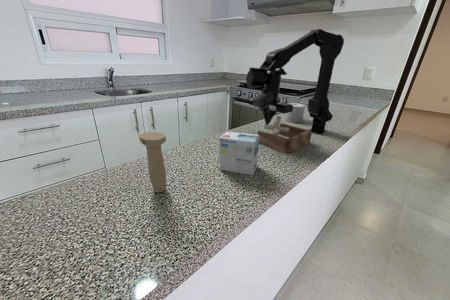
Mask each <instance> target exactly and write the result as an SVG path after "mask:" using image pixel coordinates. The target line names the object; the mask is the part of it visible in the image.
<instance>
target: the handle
mask: <svg viewBox="0 0 450 300" xmlns="http://www.w3.org/2000/svg"><path fill="white" fill-rule="evenodd" d="M138 137H139V141H140V144H142V145H143V146H146V147H145V148H146V155H147V165H148V166H147V167H148V174H149V179H150V180H149V181H150V184H151V186H152V189H153V192H154V193H155V192H157V193H159V192H162V191H163V192H164V190H165V191H166V189H167V186H166V184H167V174H166V166H165V161H164V157H163V151H162V145H163V144H165V142H167V139H166V138H167V137H166V135H165V134H164V133H162V132H157V131H148V132H147V131H146V132H142V133H141V134H138ZM163 192H162V193H163Z"/></svg>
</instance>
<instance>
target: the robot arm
mask: <svg viewBox="0 0 450 300" xmlns="http://www.w3.org/2000/svg"><path fill="white" fill-rule="evenodd" d="M344 43H345V38H344V37H343V35H341V34H335V33H332V32H328V31H326V30H324V29H322V28H317V29H312V30H310V31H309V32H308V33H306V34H305V35H303V36H300V38H298V39H297V40H295V41H293V42H292V43H290V44H288V45H286V46H284V47H282V48H277V49H275V50H271V51H269V52H268V53H267V54H266V56H265V59H264V61H263V62H262V63H261V65H260V66H259V67H251V66H250V67H249V70H248V71H247V74H246V77H245V83H246V86H247V87H248V88H249V87H250V88H253V87H254V88H256V87H257V88H258V87H259V88H260V87H262V88H261V89H262V90H261V93H260V94H257V95H256V96H253V97H252V96H251V97H249V99H248V105H251V106H253V107H255V108H258V109H259V110H260V111H261V112H262V115H263V118H264V124H267V125H270V123H271V121H272V120H273V118H274V117H275V116H276V114H277V113H281V114H285V113H289V112H293V105H292V104H288V102H287V103H286V102H282V103H280V100H279V93H281V92H282V89H280V87H281V80H282V76H287V74H288V73H287V72H286V71H285V69H284V68H283V67H285V66H286V65H287V64H288V63H289V62H290V60H291V59H292V58H294V56H296V55H297V54H299V53H301V52H302V51H304V50H306V49H308V48H309V47H311V46H312V45H314V46H316V47H319V51H318V52H319V55H320V56H319V57H320V58H321V61H320V67H319V72H318V76H317V77H318V78H317V82H316V88H315V92H314V95H313V97H312V98H308V101H307V102H308V105H306V108H307V112H308V113H309V117H310V118H312V123H311V128H310V129H308V130H311V131H312V133H315V134H318V135H323V134H325V133H327V132H328V130H327V129H326V125H327V122H330V121H332V119H333V117H334V116H333V114H332V113H331V111H330V110H329V109H330V102H329V97H328V94H329V88H330V85H331V84H330V83H331V80H332V75H333V70H334V66H335V61H336V59H337V58H338V57H339V55H340V54H341V52H342V50H343V47H344ZM263 87H264V88H263Z"/></svg>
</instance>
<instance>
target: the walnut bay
mask: <svg viewBox="0 0 450 300" xmlns="http://www.w3.org/2000/svg"><path fill="white" fill-rule="evenodd" d="M279 127H286V128H289V132H282V131H279V135H280V136H279V135H278V136H277V135H274V134H273V133H270V132H267V131H264V130H261V129H259V130H257V133H256V135H259V144H260V145H263V146H265V147H268V148H271V149H274V150H277V151H278V152H282V153H285V154H289V153H291V152H293V151H295V150H297V149H300V148H301V147H303V146H305V145H308V144H310V143H311V138H312V133H313V132H312V131H311V130H309V129H307V128H303V127H299V126H295V125H290V124H287V123H282V122H280V124H279ZM282 136H283V137H282ZM286 137H287V138H286Z"/></svg>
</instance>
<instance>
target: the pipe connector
mask: <svg viewBox="0 0 450 300" xmlns="http://www.w3.org/2000/svg"><path fill="white" fill-rule="evenodd" d="M281 120H282V117H281V116H279V115H277V116H276V118H275V121H274V122H273V124H272V125H271V124H268V125H267V124H266V123H264V124H263V129H265V130H270V131H272V134H274V135H277V136H279V135H280V134H279V131H282V132H289V128H286V127H280V123H281Z"/></svg>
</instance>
